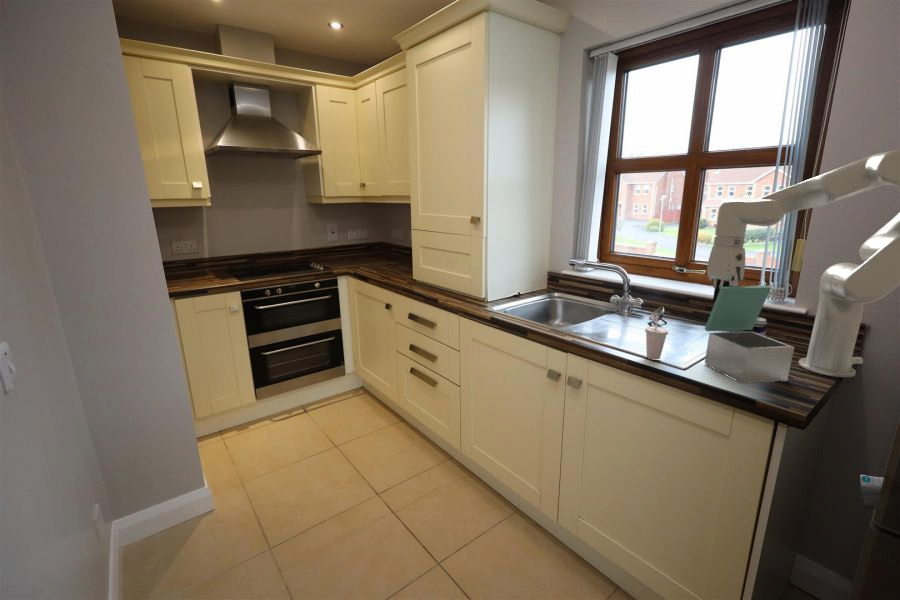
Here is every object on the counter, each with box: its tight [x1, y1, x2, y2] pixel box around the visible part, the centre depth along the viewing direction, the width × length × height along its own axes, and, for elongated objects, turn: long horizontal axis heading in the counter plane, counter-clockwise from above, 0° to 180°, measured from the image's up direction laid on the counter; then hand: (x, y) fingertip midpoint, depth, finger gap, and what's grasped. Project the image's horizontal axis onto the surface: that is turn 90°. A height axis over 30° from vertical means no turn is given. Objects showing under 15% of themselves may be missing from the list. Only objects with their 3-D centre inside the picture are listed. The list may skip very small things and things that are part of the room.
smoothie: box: [644, 314, 669, 359], centre depth 129 cm, size 6×6×14 cm
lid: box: [704, 285, 772, 332], centre depth 122 cm, size 15×14×2 cm
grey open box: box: [704, 330, 795, 384], centre depth 119 cm, size 14×14×10 cm
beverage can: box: [743, 316, 768, 336], centre depth 133 cm, size 6×6×12 cm
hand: (719, 301), depth 129 cm, fingers closed
